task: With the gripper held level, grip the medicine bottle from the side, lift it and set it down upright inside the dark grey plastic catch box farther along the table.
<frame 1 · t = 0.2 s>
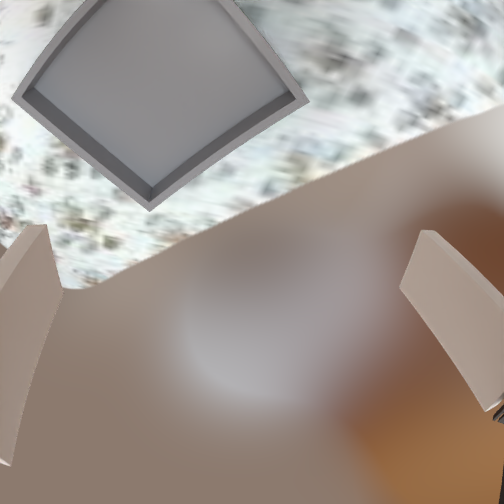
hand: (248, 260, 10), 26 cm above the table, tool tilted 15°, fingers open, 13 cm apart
catch box: (154, 75, 28), on the table
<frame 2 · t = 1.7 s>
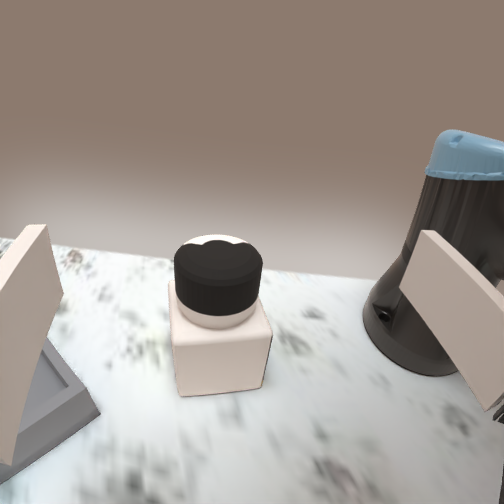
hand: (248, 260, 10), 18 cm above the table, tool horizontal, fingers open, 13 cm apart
medicine bottle: (214, 363, 28), on the table
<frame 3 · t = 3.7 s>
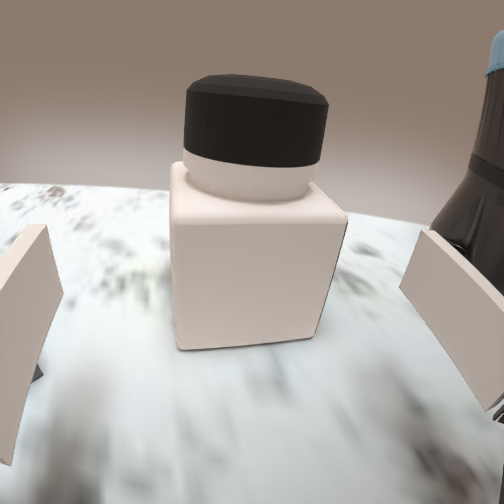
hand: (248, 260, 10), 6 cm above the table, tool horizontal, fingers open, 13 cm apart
medicine bottle: (235, 304, 18), on the table
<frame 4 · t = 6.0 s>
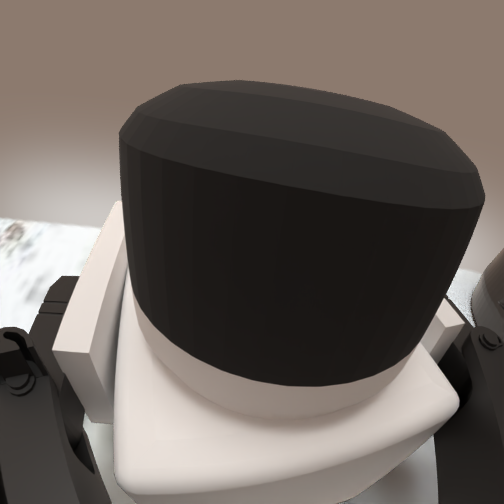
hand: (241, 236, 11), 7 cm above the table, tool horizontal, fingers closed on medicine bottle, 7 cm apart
medicine bottle: (246, 446, 11), on the table, touching gripper
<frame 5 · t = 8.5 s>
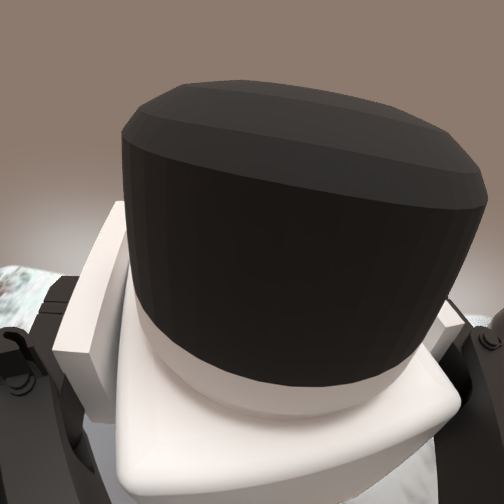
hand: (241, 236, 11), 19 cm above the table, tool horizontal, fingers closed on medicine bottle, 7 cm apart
medicine bottle: (247, 446, 11), point 12 cm above the table, touching gripper
when the fingers open (9 cm above the table, at t = 11.1 s): medicine bottle drops 2 cm, resting on catch box.
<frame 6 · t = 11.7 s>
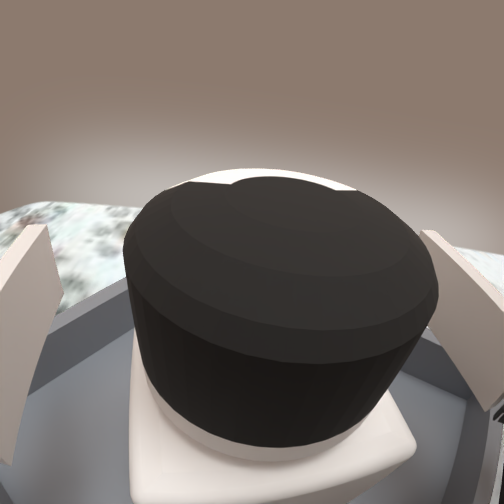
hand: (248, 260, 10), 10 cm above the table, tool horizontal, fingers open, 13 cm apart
catch box: (240, 466, 12), on the table
medicine bottle: (240, 462, 12), point 1 cm above the table, touching catch box
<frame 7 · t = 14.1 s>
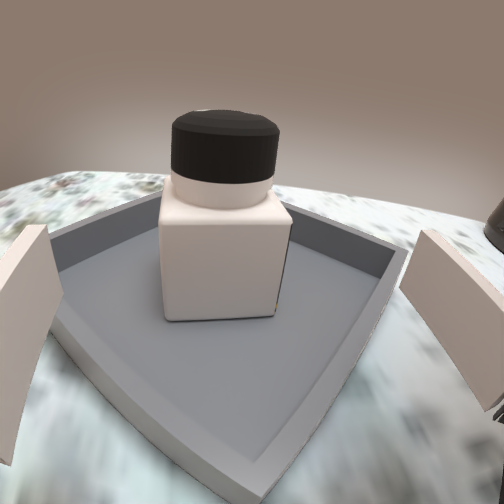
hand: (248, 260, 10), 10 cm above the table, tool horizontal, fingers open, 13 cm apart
catch box: (215, 297, 23), on the table
medicine bottle: (215, 288, 23), point 1 cm above the table, touching catch box
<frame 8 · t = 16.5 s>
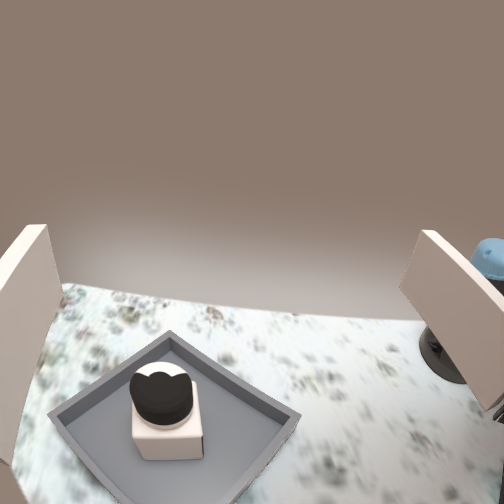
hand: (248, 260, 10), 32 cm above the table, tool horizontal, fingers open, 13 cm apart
catch box: (172, 438, 33), on the table
medicine bottle: (171, 435, 33), point 1 cm above the table, touching catch box
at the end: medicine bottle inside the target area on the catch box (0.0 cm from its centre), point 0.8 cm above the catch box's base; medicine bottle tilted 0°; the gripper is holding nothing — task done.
